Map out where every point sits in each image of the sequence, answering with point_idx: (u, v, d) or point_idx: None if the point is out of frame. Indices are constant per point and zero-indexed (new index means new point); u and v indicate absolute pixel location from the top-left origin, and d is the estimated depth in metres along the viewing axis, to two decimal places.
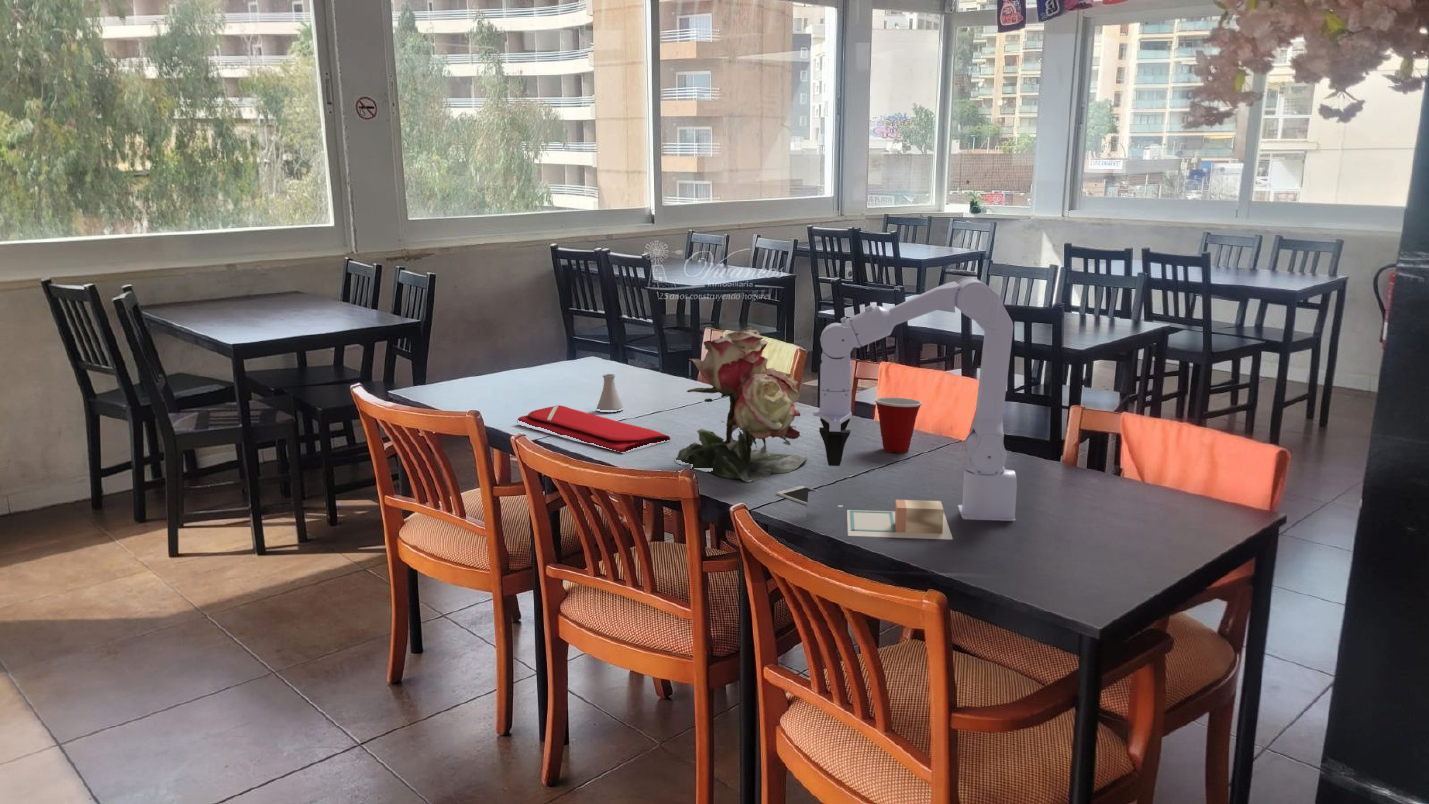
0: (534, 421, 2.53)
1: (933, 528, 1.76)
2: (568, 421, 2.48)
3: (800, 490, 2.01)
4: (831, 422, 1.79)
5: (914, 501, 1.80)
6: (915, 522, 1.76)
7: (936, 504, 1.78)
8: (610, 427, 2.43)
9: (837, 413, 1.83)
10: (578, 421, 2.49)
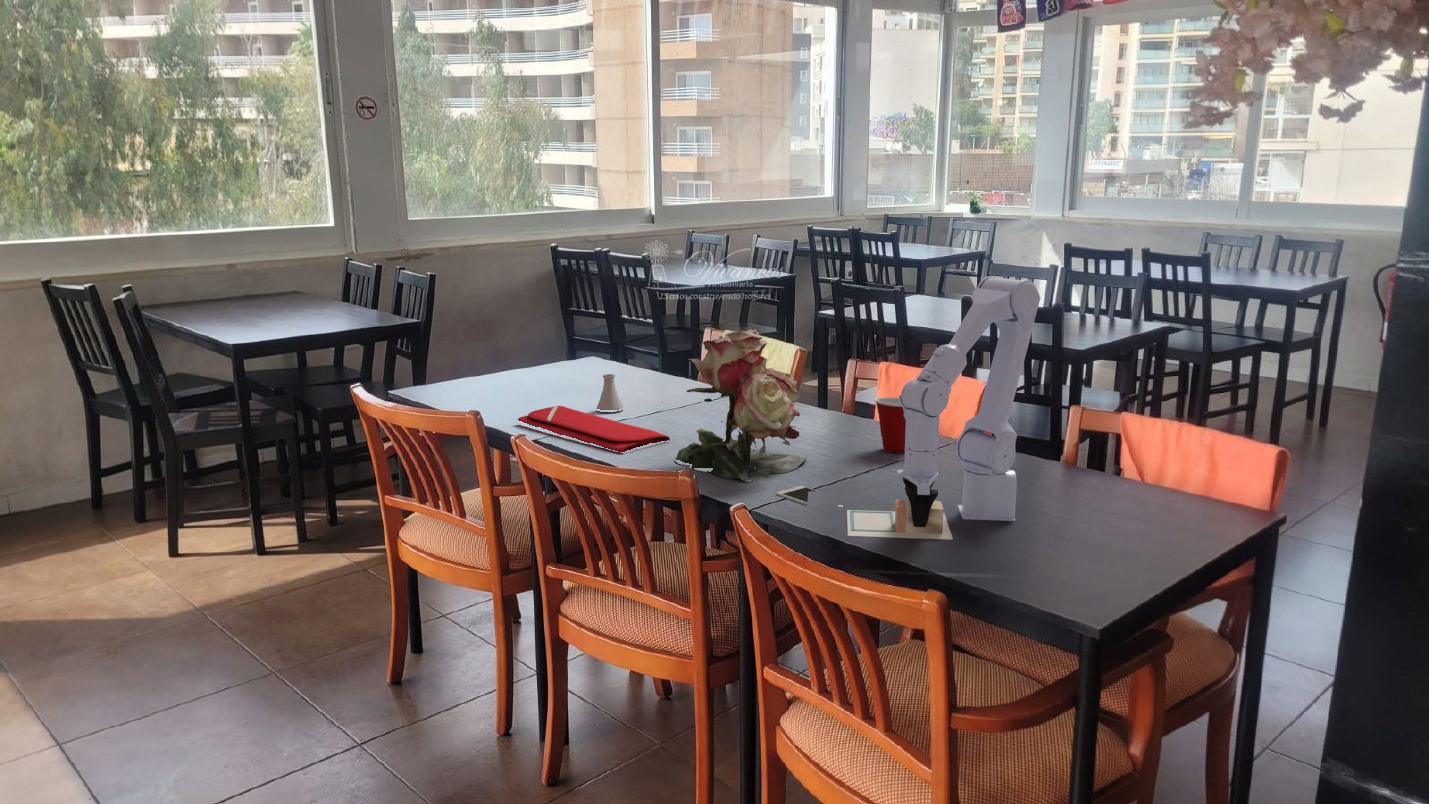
0: (534, 421, 2.53)
1: (933, 528, 1.76)
2: (568, 422, 2.48)
3: (800, 490, 2.01)
4: (920, 485, 1.69)
5: None
6: None
7: (936, 504, 1.78)
8: (610, 427, 2.43)
9: (924, 474, 1.74)
10: (578, 421, 2.48)
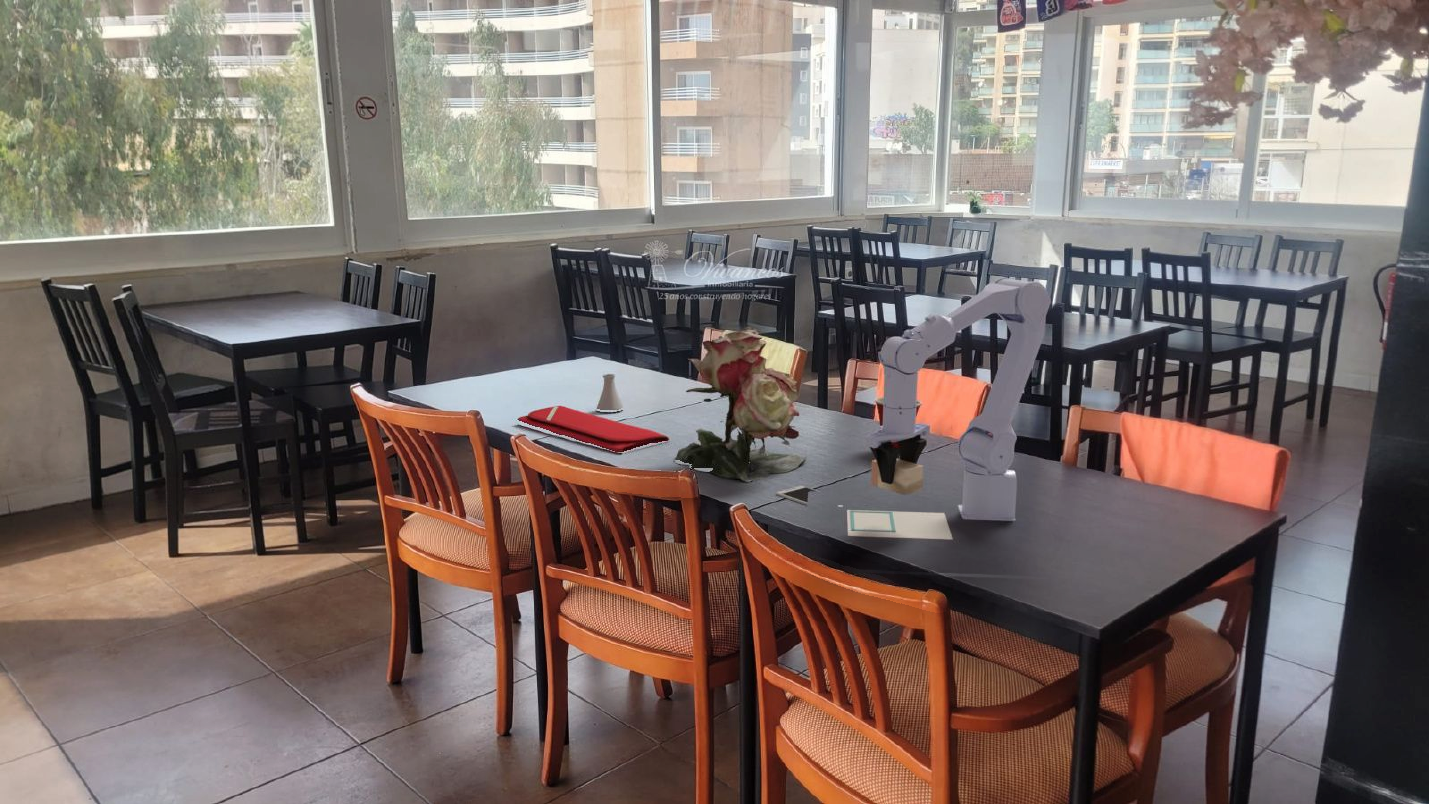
0: (533, 421, 2.53)
1: (898, 487, 1.75)
2: (567, 422, 2.48)
3: (800, 490, 2.01)
4: (867, 437, 1.73)
5: (901, 460, 1.80)
6: None
7: (911, 466, 1.76)
8: (609, 427, 2.43)
9: (889, 430, 1.75)
10: (577, 421, 2.48)
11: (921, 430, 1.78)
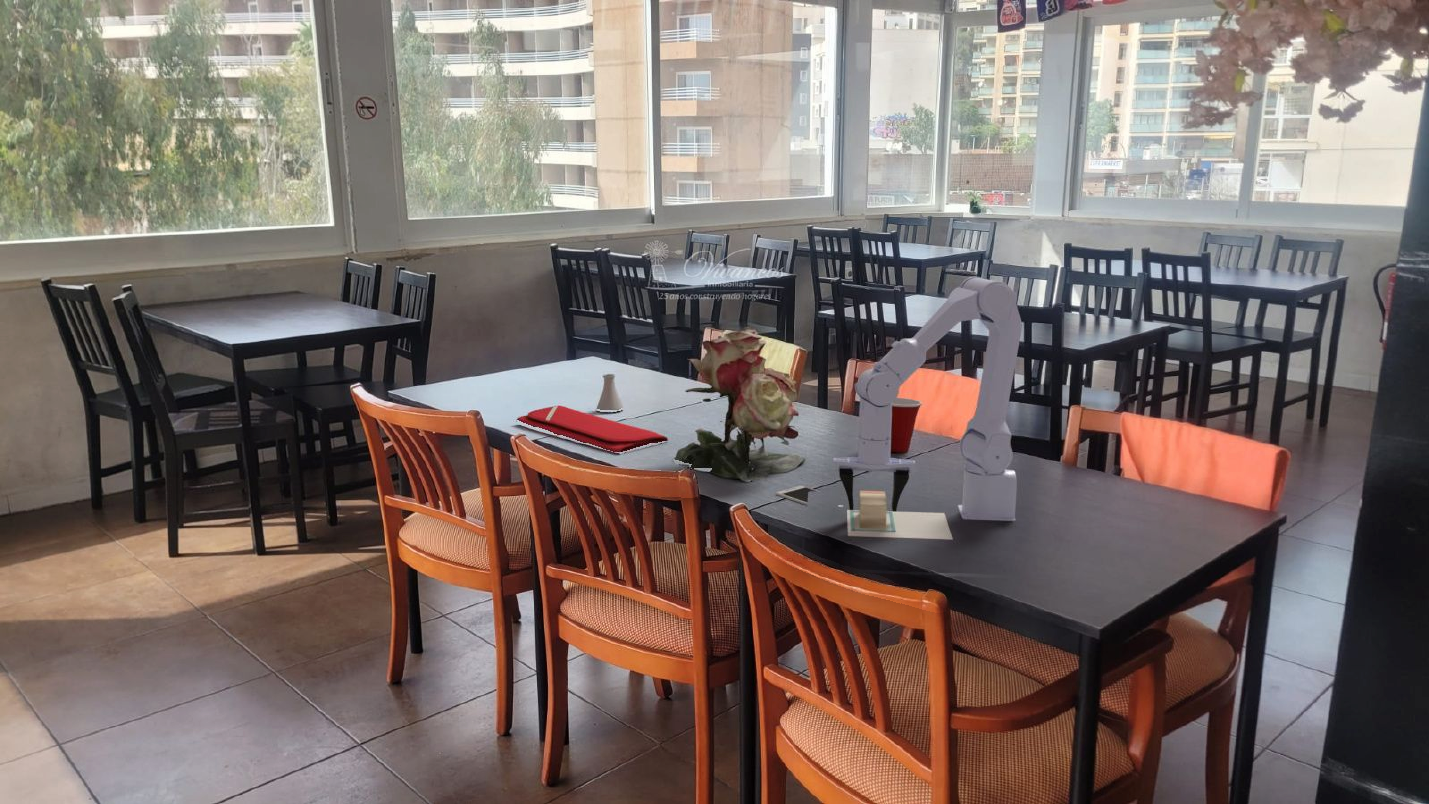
0: (533, 421, 2.53)
1: None
2: (566, 422, 2.48)
3: (800, 490, 2.01)
4: (833, 459, 1.81)
5: (883, 497, 1.82)
6: None
7: (874, 503, 1.79)
8: (608, 428, 2.43)
9: (858, 458, 1.80)
10: (576, 421, 2.48)
11: (896, 465, 1.78)
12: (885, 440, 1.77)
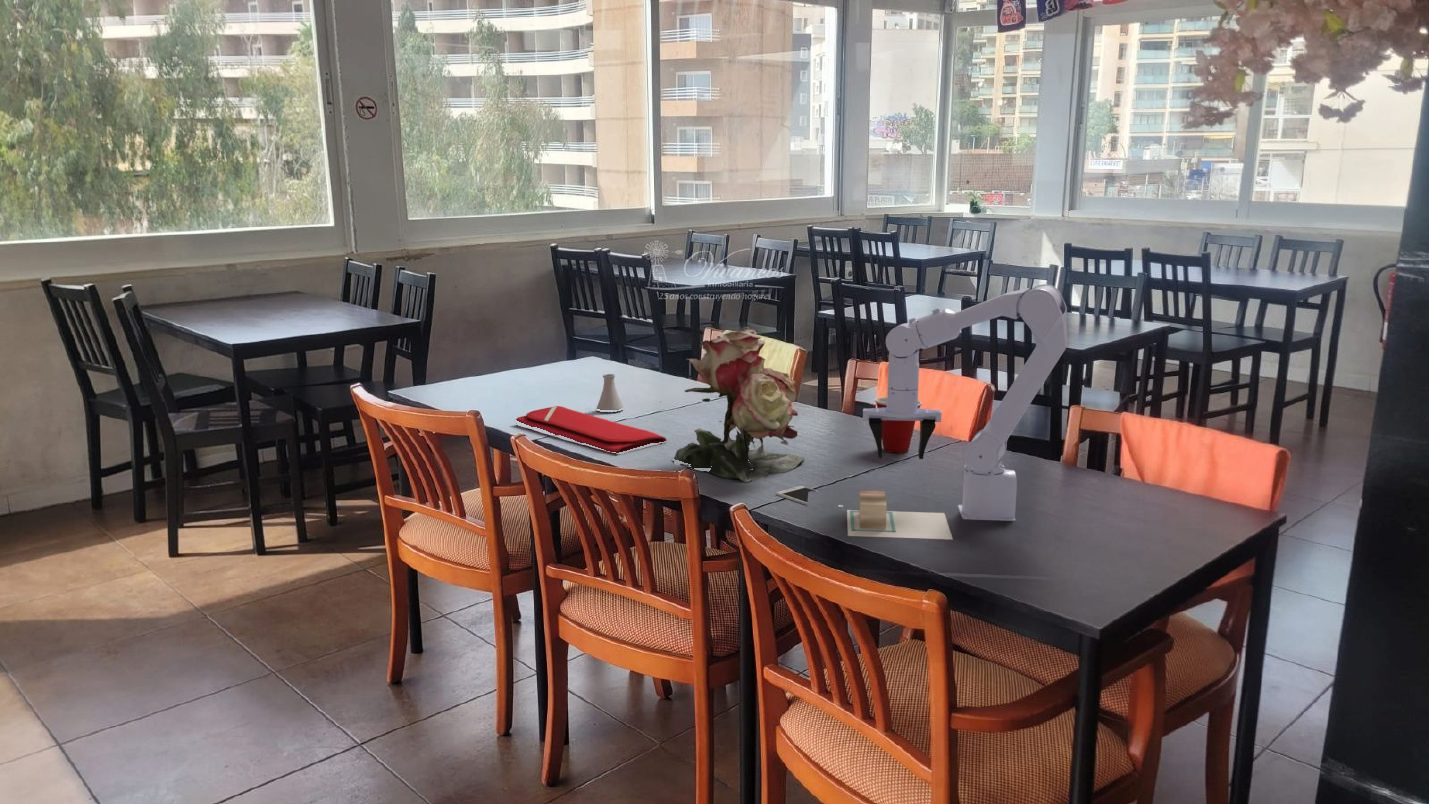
0: (531, 422, 2.53)
1: None
2: (565, 422, 2.48)
3: (800, 490, 2.01)
4: (863, 410, 1.91)
5: (883, 497, 1.82)
6: None
7: (874, 503, 1.79)
8: (606, 428, 2.43)
9: (887, 408, 1.89)
10: (575, 422, 2.48)
11: (923, 414, 1.87)
12: (913, 390, 1.86)
